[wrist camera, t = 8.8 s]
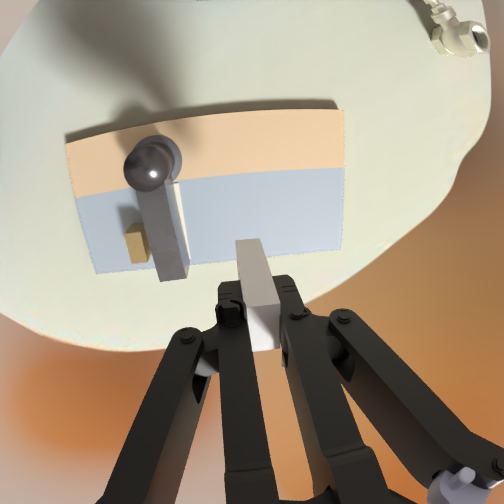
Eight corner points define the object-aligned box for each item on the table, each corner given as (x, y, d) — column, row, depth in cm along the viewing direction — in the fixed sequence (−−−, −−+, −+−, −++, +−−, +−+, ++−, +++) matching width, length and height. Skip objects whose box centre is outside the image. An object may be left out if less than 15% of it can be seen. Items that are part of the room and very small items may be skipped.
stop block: (138, 252, 28) (131, 264, 26) (131, 223, 27) (124, 234, 24) (153, 250, 28) (147, 262, 26) (147, 221, 27) (140, 231, 25)
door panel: (99, 268, 30) (95, 274, 29) (70, 142, 24) (63, 144, 22) (337, 244, 31) (341, 250, 30) (338, 109, 25) (344, 109, 23)
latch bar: (132, 147, 23) (119, 152, 20) (171, 138, 23) (162, 142, 20) (160, 265, 29) (153, 284, 25) (195, 260, 29) (192, 279, 26)
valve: (463, 46, 21) (402, -34, 17) (501, 43, 15) (433, -52, 11) (437, 69, 23) (369, -17, 18) (477, 67, 17) (400, -38, 12)
